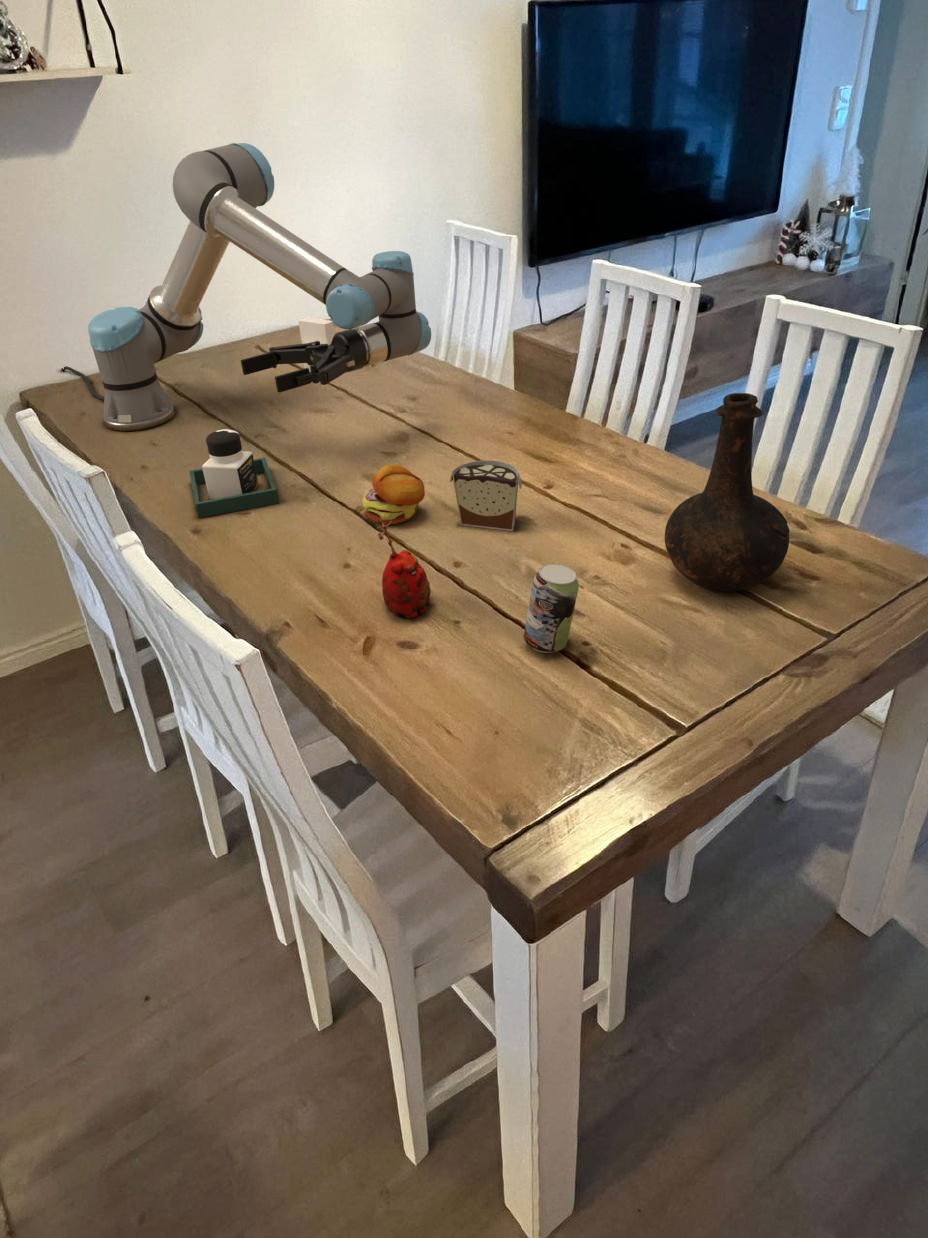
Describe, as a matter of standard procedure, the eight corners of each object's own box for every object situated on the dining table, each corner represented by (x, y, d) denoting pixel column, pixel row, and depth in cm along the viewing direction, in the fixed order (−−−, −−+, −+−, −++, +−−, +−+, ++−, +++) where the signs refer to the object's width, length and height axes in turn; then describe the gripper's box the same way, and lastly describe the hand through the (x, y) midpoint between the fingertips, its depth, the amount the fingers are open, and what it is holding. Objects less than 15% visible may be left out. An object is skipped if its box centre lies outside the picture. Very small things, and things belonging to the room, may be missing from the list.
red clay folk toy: (424, 623, 131) (416, 532, 123) (377, 620, 132) (366, 530, 124) (435, 594, 137) (427, 506, 129) (390, 592, 139) (380, 505, 130)
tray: (192, 483, 175) (189, 470, 174) (267, 470, 179) (265, 457, 177) (198, 518, 163) (195, 504, 161) (279, 503, 166) (276, 489, 165)
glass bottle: (762, 619, 127) (791, 432, 112) (643, 588, 136) (655, 410, 120) (796, 561, 140) (828, 385, 124) (685, 536, 148) (701, 368, 132)
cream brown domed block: (531, 515, 157) (530, 462, 151) (521, 532, 152) (520, 477, 147) (464, 508, 161) (461, 455, 155) (452, 524, 156) (449, 470, 150)
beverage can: (521, 634, 127) (519, 561, 121) (572, 630, 128) (574, 556, 121) (527, 661, 122) (526, 586, 116) (581, 656, 123) (583, 580, 116)
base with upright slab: (347, 365, 229) (341, 317, 223) (324, 376, 223) (317, 327, 217) (320, 361, 234) (313, 313, 227) (297, 371, 228) (289, 323, 221)
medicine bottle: (244, 502, 167) (232, 441, 161) (209, 500, 169) (195, 440, 162) (259, 485, 173) (247, 426, 166) (225, 484, 174) (212, 425, 168)
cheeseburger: (379, 496, 166) (386, 448, 160) (430, 517, 164) (438, 470, 157) (350, 519, 159) (356, 470, 152) (403, 542, 156) (411, 493, 150)
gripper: (396, 382, 168) (295, 413, 158) (328, 353, 185) (233, 380, 175) (392, 341, 164) (288, 371, 154) (322, 316, 181) (225, 341, 170)
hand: (259, 375), depth 164 cm, fingers open, 13 cm apart
